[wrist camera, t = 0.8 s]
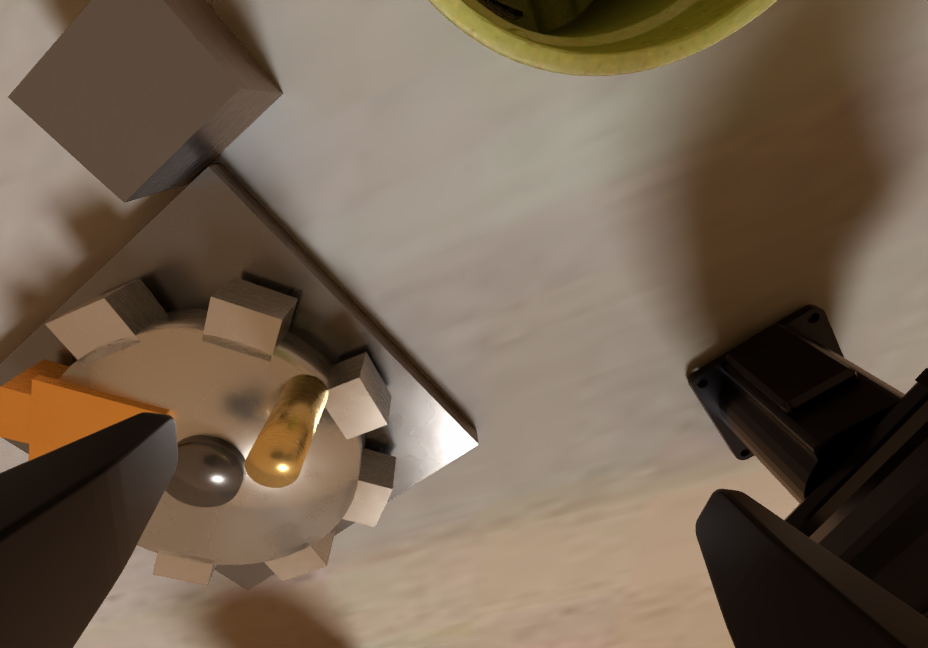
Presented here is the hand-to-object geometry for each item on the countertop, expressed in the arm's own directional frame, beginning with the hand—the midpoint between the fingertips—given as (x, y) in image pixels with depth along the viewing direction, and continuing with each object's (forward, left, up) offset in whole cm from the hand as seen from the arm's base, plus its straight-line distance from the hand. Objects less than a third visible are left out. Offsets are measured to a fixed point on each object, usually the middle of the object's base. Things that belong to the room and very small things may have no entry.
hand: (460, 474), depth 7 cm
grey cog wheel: (0, +12, -11) cm, 17 cm away
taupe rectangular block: (+10, +3, -13) cm, 16 cm away
